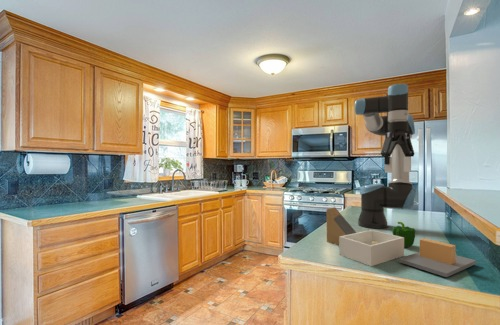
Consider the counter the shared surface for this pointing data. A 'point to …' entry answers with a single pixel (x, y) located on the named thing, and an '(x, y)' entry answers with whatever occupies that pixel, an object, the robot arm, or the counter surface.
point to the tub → (371, 247)
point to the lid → (437, 258)
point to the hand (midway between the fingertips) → (398, 172)
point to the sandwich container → (337, 226)
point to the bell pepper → (405, 234)
